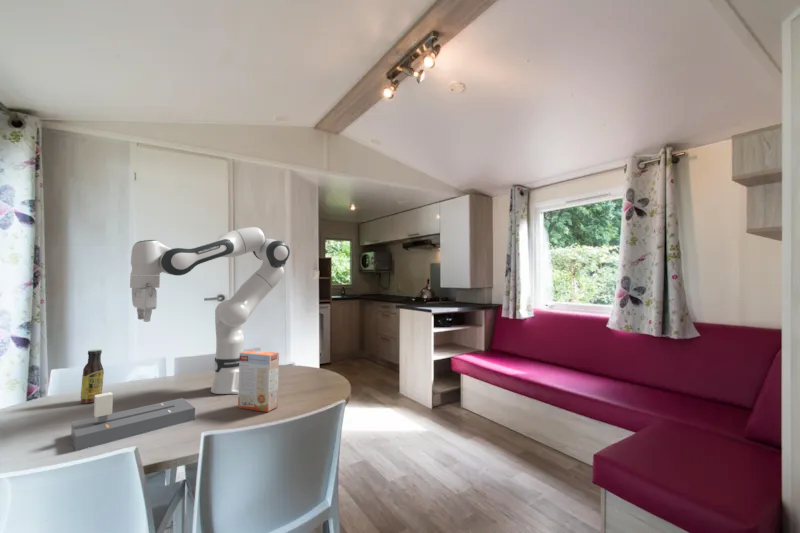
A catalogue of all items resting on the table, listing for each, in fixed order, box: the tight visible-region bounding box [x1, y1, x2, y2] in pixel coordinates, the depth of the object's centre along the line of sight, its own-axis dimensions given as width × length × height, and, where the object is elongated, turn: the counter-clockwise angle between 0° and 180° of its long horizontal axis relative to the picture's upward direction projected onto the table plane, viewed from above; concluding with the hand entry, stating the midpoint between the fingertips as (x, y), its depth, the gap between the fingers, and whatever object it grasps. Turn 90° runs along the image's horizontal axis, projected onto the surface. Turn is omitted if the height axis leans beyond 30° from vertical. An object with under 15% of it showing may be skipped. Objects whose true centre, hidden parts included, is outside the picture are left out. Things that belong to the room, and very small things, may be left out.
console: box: [70, 397, 196, 452], centre depth 112 cm, size 30×14×4 cm, turn 138°
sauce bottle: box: [80, 349, 105, 404], centre depth 134 cm, size 6×6×20 cm
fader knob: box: [93, 391, 114, 422], centre depth 106 cm, size 4×3×8 cm
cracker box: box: [237, 350, 280, 413], centre depth 130 cm, size 14×6×21 cm, turn 71°
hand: (143, 320), depth 126 cm, fingers open, 8 cm apart
